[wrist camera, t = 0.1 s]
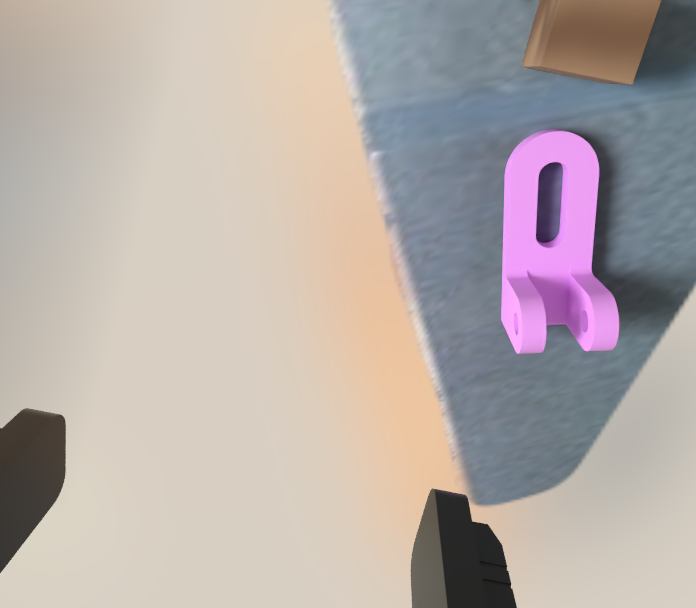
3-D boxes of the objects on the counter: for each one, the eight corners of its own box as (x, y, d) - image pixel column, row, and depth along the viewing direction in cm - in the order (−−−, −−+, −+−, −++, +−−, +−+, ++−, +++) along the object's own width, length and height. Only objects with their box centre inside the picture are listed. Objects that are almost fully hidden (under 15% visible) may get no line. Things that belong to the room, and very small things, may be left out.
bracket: (580, 315, 42) (615, 360, 35) (500, 319, 42) (521, 363, 36) (595, 126, 37) (639, 138, 31) (505, 132, 38) (529, 145, 31)
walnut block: (546, -25, 34) (571, -40, 29) (630, -8, 34) (668, -20, 30) (521, 66, 36) (540, 66, 31) (600, 82, 36) (632, 84, 31)
